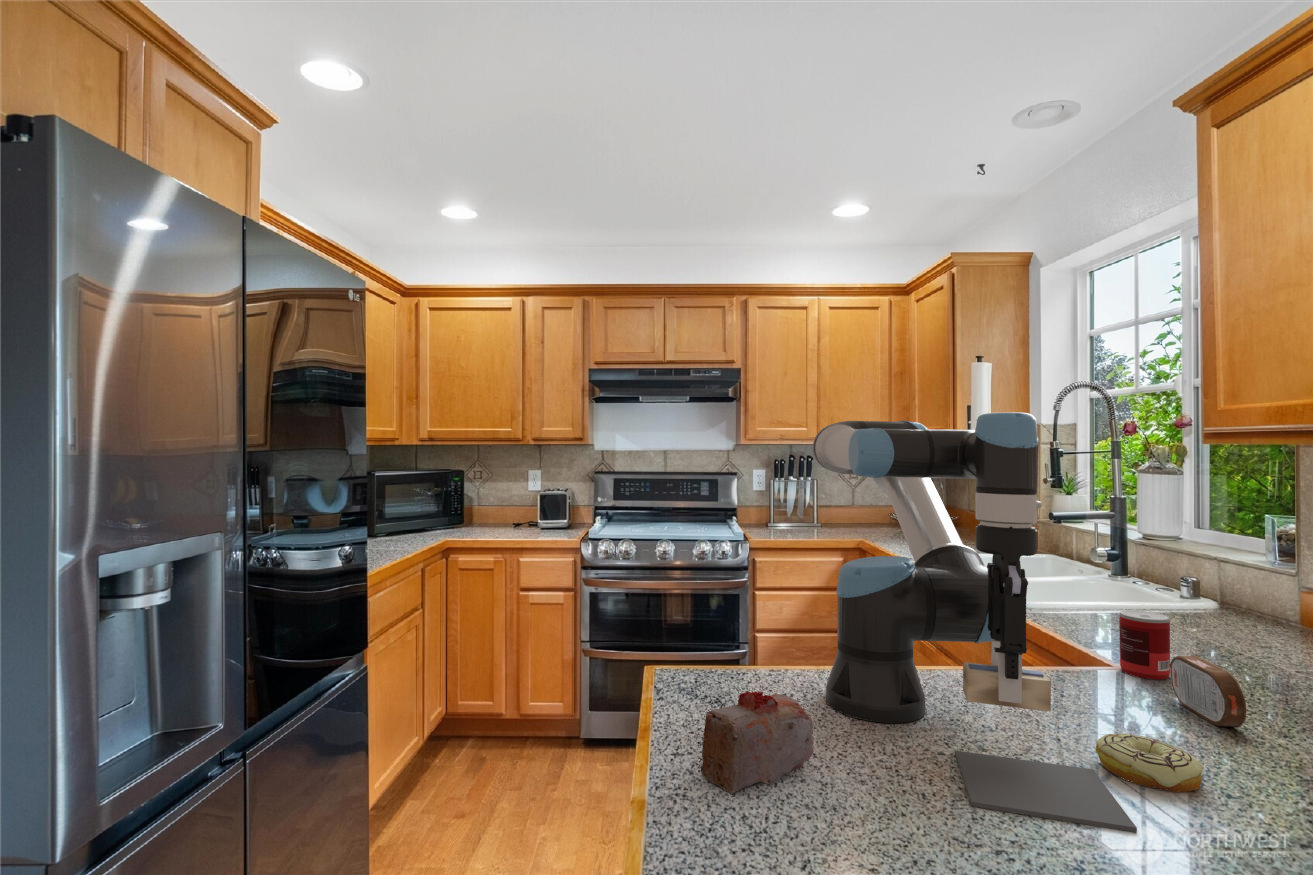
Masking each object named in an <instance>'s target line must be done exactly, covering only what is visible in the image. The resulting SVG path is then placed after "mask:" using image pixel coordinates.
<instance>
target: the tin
mask: <svg viewBox="0 0 1313 875" xmlns="http://www.w3.org/2000/svg"><path fill="white" fill-rule="evenodd" d="M1170 679H1171V688H1172V690H1173V692H1174V695H1175V697H1176V698H1177V700H1178V701H1179V702H1180V704H1181V705H1182V706H1184V707H1185V708H1186V709H1188V710H1189V711H1192V712H1193V713H1195V714H1196V715H1198V716H1199V717H1201V718H1203V719H1204V720H1205V721H1206V722H1208V723H1210V724H1212V725H1214V726H1216V727H1227V728H1228V727H1230V728H1240V727H1241V726H1243V725H1244V724H1245V721H1246V718H1247V704H1246V699H1245V696H1244V693H1243V690H1242V688H1241V686H1240V684H1239V682H1238V681H1237V680H1236V678H1235V677H1234V676H1233V674H1232V673H1231V672H1229V671H1228V670H1226V669H1225V668H1222V667H1220V666H1218V665H1216V664H1214V663H1211V662H1210V661H1208V660H1205V659H1203V657H1200V656H1197V655H1193V654H1192V655H1177V656H1174V657H1173V658H1172V659H1171V660H1170Z"/></svg>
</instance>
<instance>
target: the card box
mask: <svg viewBox="0 0 1313 875" xmlns="http://www.w3.org/2000/svg"><path fill="white" fill-rule="evenodd" d="M962 663H963V664H962V692H963V694H964V696H965V699H966V702H969V703H977V704H985V705H992V706H993V705H994V706H1000V707H1009V708H1017V709H1023V710H1024V709H1026V710H1033V711H1041V712H1050V713H1051V711H1052V703H1051V702H1052V698H1051V696H1052V690H1051V689H1052V681H1051V679H1050V678H1049V677H1048V675H1046V673H1045V672H1044V671H1043V670H1041V669H1040V670H1039V669H1031V668H1024V667H1022V704H1021V703H1013V702H1004V701H999V700H998V666H995V665H991V664H987V663H986V664H985V663H975V662H966V661H963V662H962Z"/></svg>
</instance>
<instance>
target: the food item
mask: <svg viewBox="0 0 1313 875" xmlns="http://www.w3.org/2000/svg"><path fill="white" fill-rule="evenodd" d="M737 701H738V702H737V704H733V705H729V706H724V707H721V708H717V709H711V710H710V711H707V712H706V713H705V719H704V728H703V735H702V736H703V741H702V748H701V749H702V751H701V752H702V753H701V757H702V765H701V766H700V767H699V768H700V774H701V776H702V777H704V778H705V779H706V780H707V781H708V782H710V783H712V784H715V785H716V786H718V787H720V788H721V789H723V790H724V791H725V792H727V793H728V794H730V795H732V794H735V793H736V792H738V791H741V790H742V789H744V788H748V787H750V786H752V785H754V784H758V783H760V782H762V783H764V784H768V785H773V784H776V782H778V781H779V780H781V779H782V776H783V775H787V774H789V773H791V771H792V770H795V769H799V768H802V767H803V766H804V764H805V763H806V762H808V763H809V762H810V759H811V757H812V756H813V755H814V751H815V750H814V748H813V747H814V736H813V733H814V732H813V731H814V726H815V723H814V722H813V719H812V718H811V716H810V715H809V714H808V713H807V712H805V710H804V708H803V706H802V705H801V704H800V702H798V701H797V700H796V699H794V698H792V697H790V696H788V695H784V694H779V693H773V694H771V695H769V694H764V692H763V691H761V692H758V691H755V690H754V691H752V692H750V691H749V690H746V691H745V692H742V693H739V695H738V699H737Z"/></svg>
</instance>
